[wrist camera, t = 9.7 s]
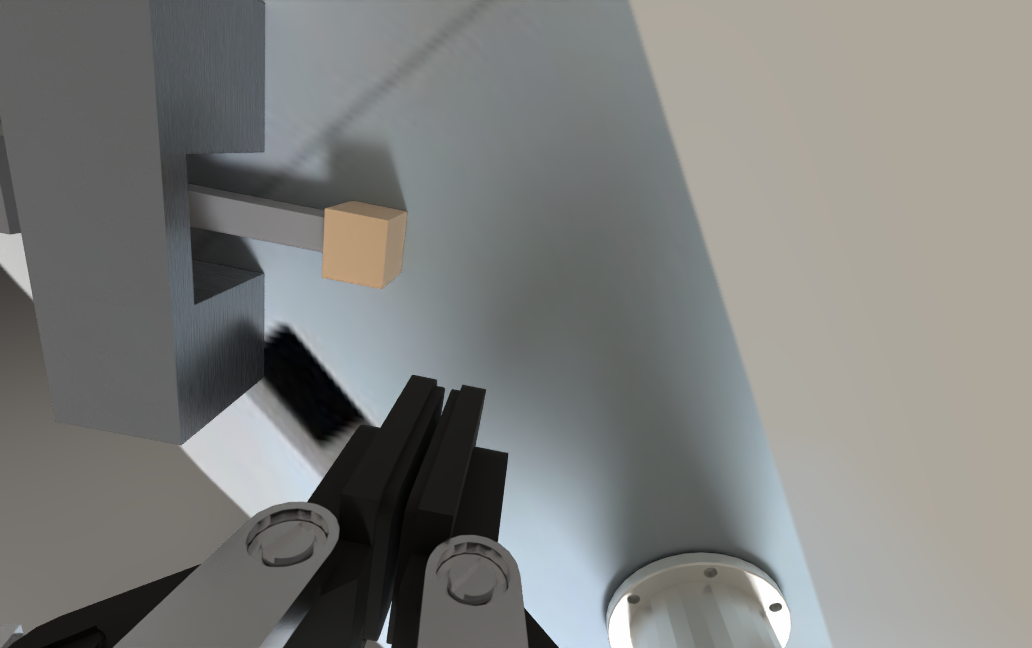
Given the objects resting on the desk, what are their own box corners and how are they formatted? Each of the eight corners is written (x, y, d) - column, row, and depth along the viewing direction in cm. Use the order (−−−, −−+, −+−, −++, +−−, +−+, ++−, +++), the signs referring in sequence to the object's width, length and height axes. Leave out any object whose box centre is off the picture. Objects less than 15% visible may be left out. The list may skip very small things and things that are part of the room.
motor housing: (264, 3, 22) (144, -59, 16) (263, 377, 29) (181, 445, 23) (137, -23, 22) (-39, -97, 16) (167, 358, 29) (55, 421, 23)
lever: (408, 202, 25) (382, 212, 21) (400, 280, 27) (374, 304, 23) (-15, 118, 25) (-125, 113, 21) (2, 203, 26) (-98, 213, 22)
